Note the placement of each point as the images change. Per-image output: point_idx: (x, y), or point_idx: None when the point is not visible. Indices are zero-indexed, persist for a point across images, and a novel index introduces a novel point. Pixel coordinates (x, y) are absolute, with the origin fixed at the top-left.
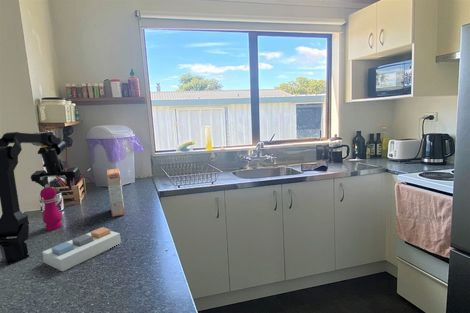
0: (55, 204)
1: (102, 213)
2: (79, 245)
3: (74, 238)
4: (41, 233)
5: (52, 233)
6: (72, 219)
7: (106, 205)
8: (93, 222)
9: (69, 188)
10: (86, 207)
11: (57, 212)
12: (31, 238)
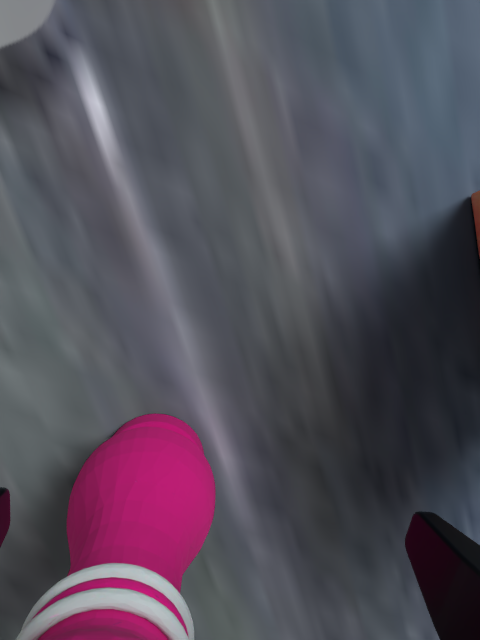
0: (179, 582)
1: (418, 275)
2: None
3: None
4: None
5: None
6: (233, 329)
7: (412, 76)
8: (395, 445)
9: (435, 616)
10: (261, 51)
11: (198, 546)
12: None
